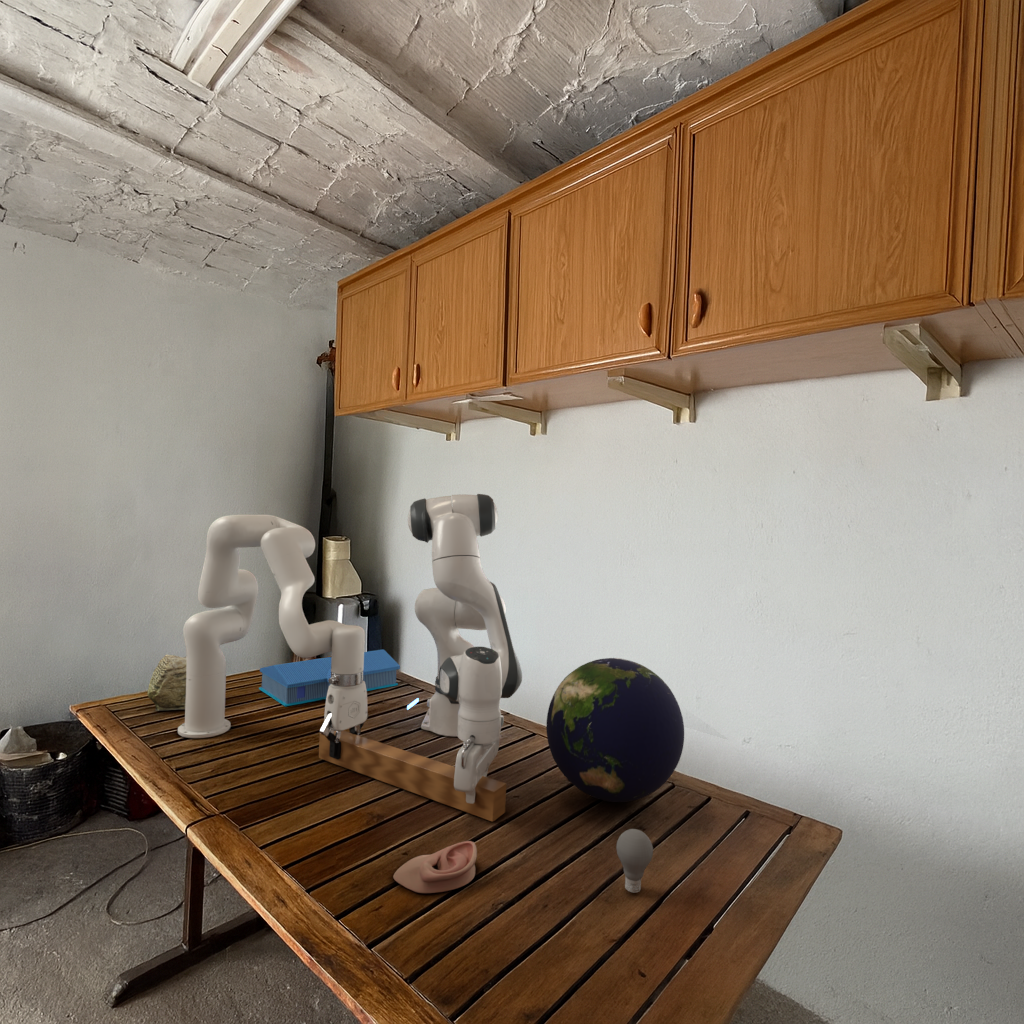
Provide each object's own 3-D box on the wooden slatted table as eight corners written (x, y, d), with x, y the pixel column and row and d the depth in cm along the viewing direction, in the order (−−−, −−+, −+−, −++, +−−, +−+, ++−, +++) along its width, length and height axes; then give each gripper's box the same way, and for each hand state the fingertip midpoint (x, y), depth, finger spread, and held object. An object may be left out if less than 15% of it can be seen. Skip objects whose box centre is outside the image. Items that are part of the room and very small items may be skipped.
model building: (289, 709, 186) (291, 675, 185) (258, 688, 204) (259, 657, 204) (403, 687, 212) (405, 657, 212) (366, 670, 230) (368, 643, 230)
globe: (523, 809, 132) (530, 666, 131) (566, 757, 160) (571, 639, 159) (669, 844, 121) (677, 688, 120) (688, 782, 148) (694, 654, 148)
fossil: (144, 707, 182) (145, 655, 182) (212, 696, 194) (213, 647, 194) (151, 716, 175) (153, 662, 175) (221, 703, 188) (223, 653, 188)
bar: (318, 758, 152) (319, 733, 152) (333, 751, 156) (334, 727, 156) (492, 822, 126) (494, 791, 126) (505, 812, 130) (506, 783, 130)
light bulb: (610, 879, 108) (613, 822, 108) (644, 879, 109) (647, 822, 109) (619, 902, 102) (622, 840, 102) (655, 901, 103) (658, 840, 103)
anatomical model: (386, 863, 103) (411, 828, 115) (385, 887, 104) (410, 850, 115) (465, 876, 101) (482, 839, 112) (463, 901, 101) (481, 861, 112)
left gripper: (330, 689, 142) (327, 770, 142) (383, 673, 156) (380, 746, 156) (307, 683, 145) (304, 761, 146) (361, 668, 160) (358, 739, 160)
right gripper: (478, 749, 120) (475, 821, 120) (505, 714, 140) (503, 775, 140) (447, 744, 121) (444, 815, 122) (478, 710, 141) (475, 771, 142)
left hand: (343, 753), depth 151 cm, fingers closed on bar, 4 cm apart
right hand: (476, 794), depth 131 cm, fingers closed on bar, 5 cm apart
